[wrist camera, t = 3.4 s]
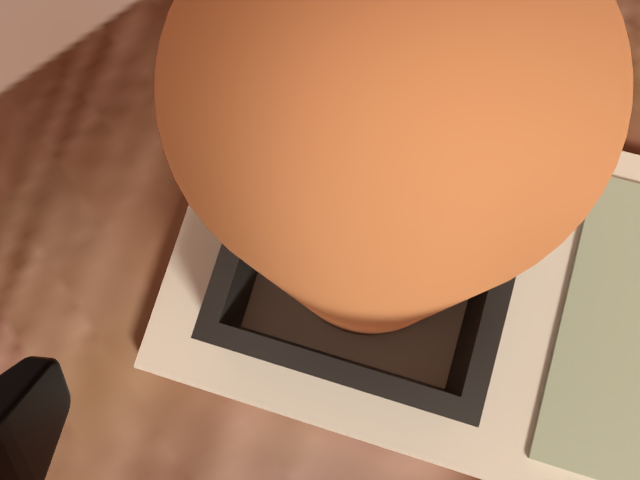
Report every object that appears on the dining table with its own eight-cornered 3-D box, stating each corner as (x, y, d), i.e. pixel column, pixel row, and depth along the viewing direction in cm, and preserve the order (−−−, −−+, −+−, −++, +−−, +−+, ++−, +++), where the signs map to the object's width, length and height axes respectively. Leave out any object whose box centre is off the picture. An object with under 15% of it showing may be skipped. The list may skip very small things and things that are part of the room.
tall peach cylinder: (395, 366, 18) (471, 410, 6) (261, 279, 19) (62, 144, 6) (478, 231, 19) (722, -6, 6) (345, 152, 20) (318, -207, 7)
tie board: (144, 366, 20) (91, 370, 16) (245, 68, 22) (219, 6, 18) (877, 601, 17) (1029, 675, 13) (928, 241, 19) (1077, 214, 15)
